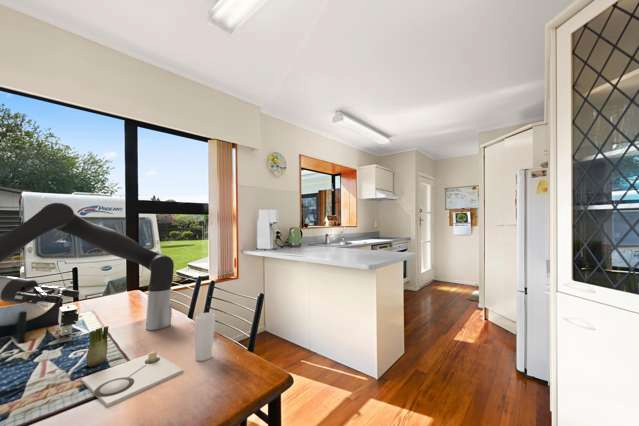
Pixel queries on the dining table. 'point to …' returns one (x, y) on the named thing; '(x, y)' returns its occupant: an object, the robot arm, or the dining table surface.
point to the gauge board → (130, 378)
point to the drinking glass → (204, 335)
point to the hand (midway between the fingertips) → (69, 297)
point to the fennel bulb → (97, 347)
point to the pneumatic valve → (67, 318)
